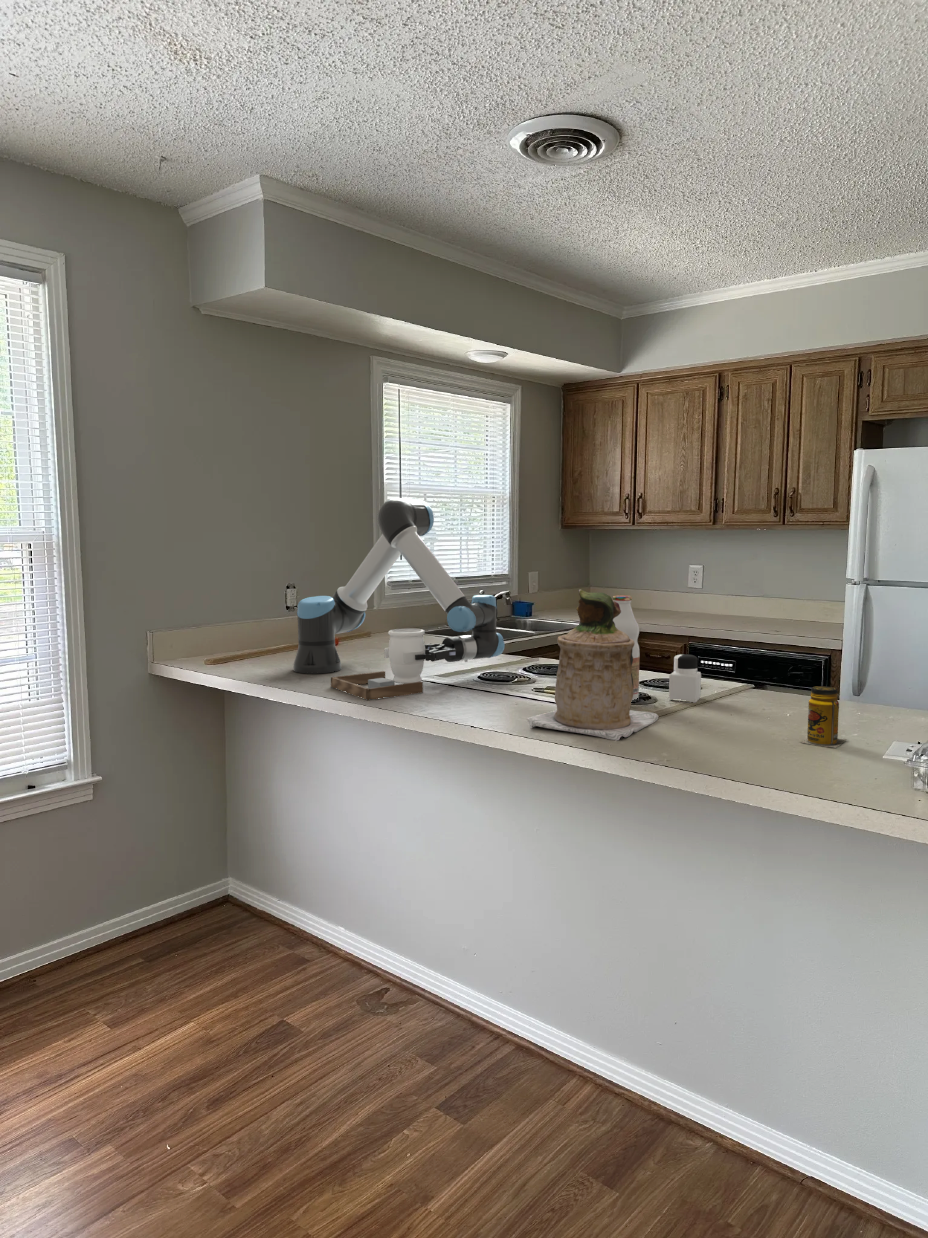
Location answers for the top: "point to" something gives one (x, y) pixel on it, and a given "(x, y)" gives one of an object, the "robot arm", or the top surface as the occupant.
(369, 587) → the robot arm
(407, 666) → the jar
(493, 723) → the top surface
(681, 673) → the medicine bottle
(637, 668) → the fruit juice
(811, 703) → the condiment
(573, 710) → the cookie jar
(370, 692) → the tray
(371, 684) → the tile
